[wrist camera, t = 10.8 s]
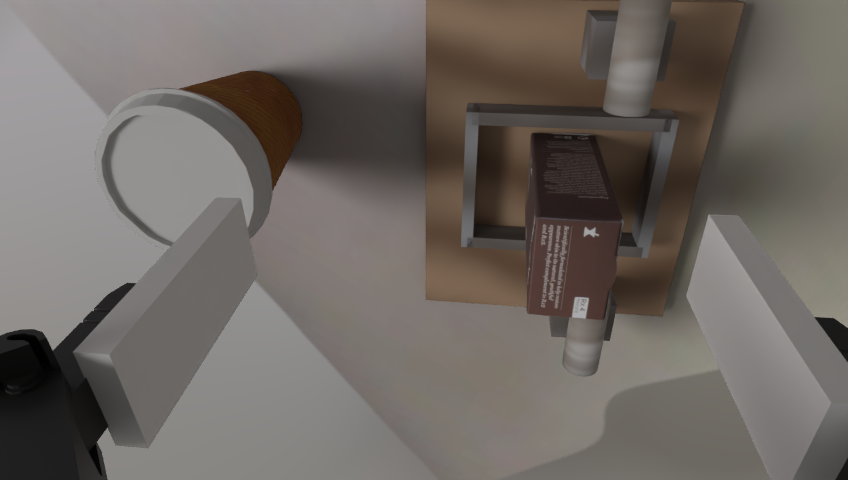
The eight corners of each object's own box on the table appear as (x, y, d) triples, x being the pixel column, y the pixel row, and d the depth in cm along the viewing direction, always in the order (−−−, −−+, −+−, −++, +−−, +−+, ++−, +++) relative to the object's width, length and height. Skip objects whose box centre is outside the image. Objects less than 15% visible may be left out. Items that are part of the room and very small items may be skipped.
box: (525, 131, 37) (535, 215, 27) (596, 133, 36) (634, 219, 26) (518, 213, 40) (525, 318, 30) (584, 216, 39) (614, 323, 29)
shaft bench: (428, -19, 34) (411, -4, 28) (740, -15, 32) (801, 2, 26) (427, 299, 46) (414, 362, 39) (656, 315, 44) (683, 384, 38)
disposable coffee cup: (347, 94, 38) (290, 159, 28) (293, 200, 43) (227, 290, 33) (218, 17, 37) (108, 57, 26) (177, 136, 41) (69, 209, 31)
